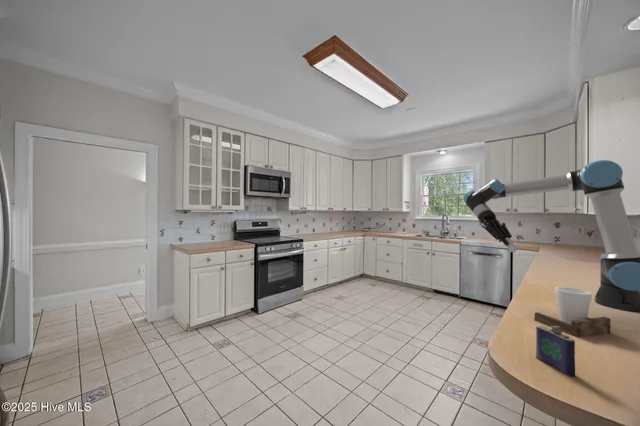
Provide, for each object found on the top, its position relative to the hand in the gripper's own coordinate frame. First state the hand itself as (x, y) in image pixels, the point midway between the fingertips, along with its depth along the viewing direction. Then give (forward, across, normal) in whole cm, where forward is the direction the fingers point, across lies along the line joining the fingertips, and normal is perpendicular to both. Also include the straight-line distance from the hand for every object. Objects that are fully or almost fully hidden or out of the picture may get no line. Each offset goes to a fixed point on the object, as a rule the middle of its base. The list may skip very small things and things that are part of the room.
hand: (514, 250), depth 117 cm
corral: (+34, +4, 0) cm, 34 cm away
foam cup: (+35, +3, 0) cm, 35 cm away
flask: (+48, +37, +13) cm, 62 cm away
